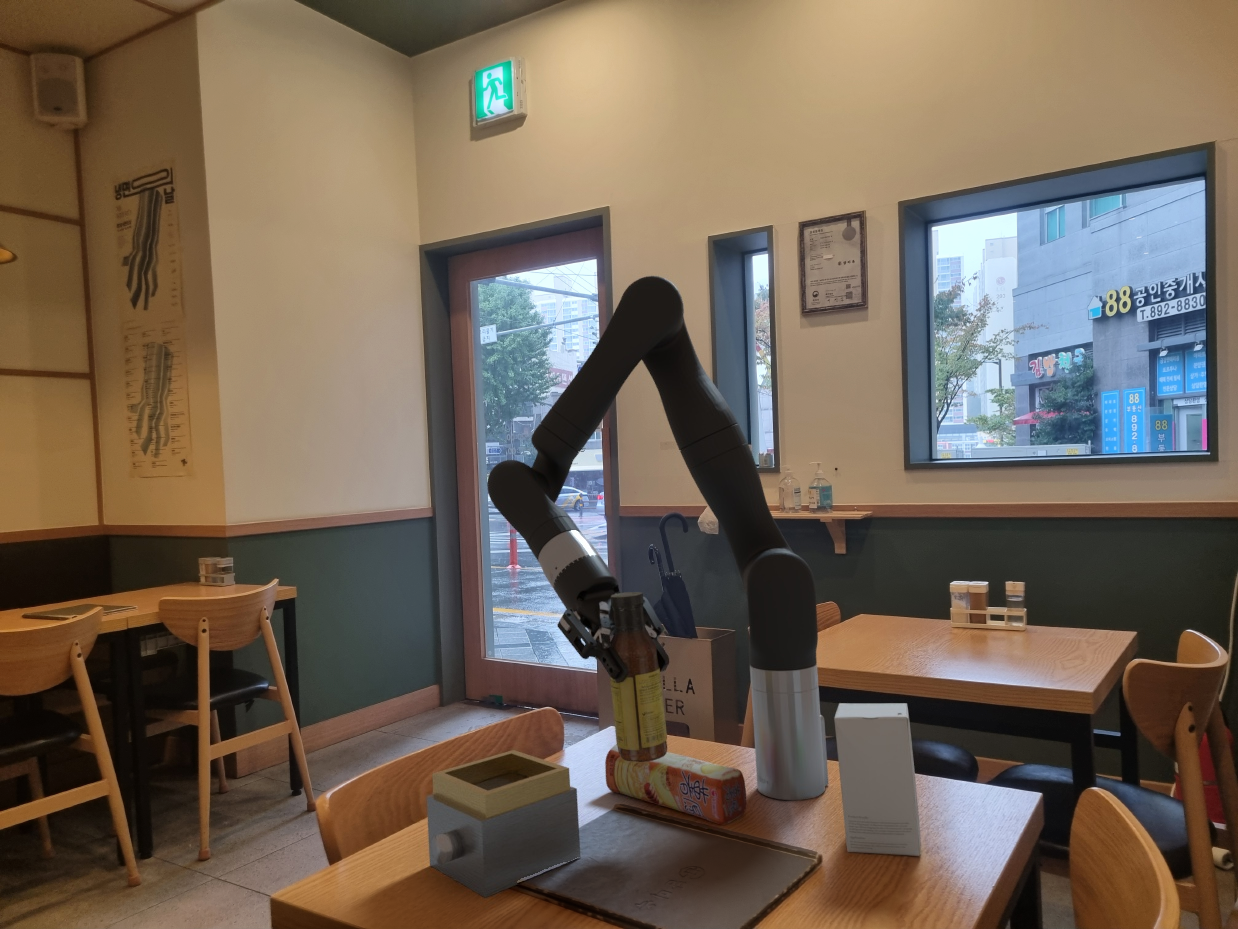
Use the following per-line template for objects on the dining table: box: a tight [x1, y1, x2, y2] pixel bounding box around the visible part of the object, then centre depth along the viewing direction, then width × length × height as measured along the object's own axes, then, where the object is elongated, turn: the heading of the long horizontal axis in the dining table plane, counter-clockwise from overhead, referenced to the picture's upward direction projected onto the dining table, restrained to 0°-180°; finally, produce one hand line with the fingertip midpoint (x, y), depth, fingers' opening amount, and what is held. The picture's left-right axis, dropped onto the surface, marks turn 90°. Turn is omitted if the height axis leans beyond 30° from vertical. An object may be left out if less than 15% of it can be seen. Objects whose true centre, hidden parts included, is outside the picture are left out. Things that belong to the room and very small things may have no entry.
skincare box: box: [833, 702, 922, 857], centre depth 97 cm, size 8×7×16 cm
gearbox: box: [426, 749, 581, 898], centre depth 98 cm, size 15×12×10 cm
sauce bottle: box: [609, 591, 668, 762], centre depth 103 cm, size 7×6×20 cm
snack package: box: [604, 743, 748, 826], centre depth 114 cm, size 21×7×7 cm, turn 45°
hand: (644, 672), depth 102 cm, fingers closed on sauce bottle, 6 cm apart
